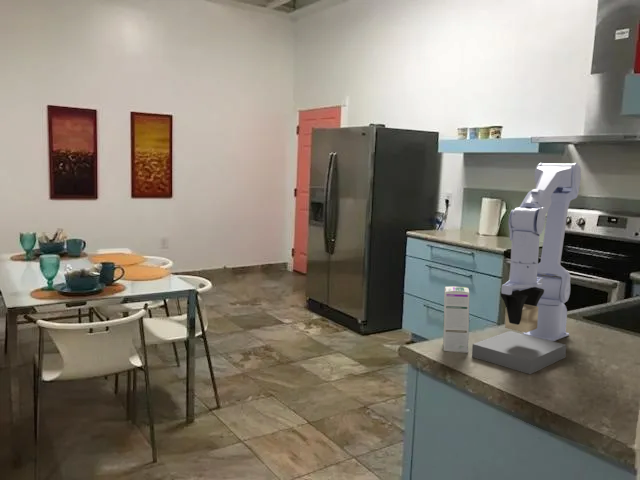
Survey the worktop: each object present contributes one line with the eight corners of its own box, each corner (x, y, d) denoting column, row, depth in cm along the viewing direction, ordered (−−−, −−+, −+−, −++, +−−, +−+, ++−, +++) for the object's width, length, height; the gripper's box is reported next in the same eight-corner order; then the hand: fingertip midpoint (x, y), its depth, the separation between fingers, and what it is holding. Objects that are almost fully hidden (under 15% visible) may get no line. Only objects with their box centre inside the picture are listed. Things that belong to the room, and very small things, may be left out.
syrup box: (468, 353, 128) (471, 291, 126) (442, 351, 129) (444, 290, 127) (467, 345, 133) (469, 286, 132) (442, 343, 135) (444, 285, 133)
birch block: (516, 323, 128) (517, 302, 127) (537, 328, 124) (538, 306, 124) (505, 327, 125) (506, 306, 124) (526, 332, 121) (527, 310, 120)
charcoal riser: (509, 342, 136) (509, 330, 136) (565, 357, 126) (566, 344, 125) (471, 356, 125) (472, 344, 125) (530, 374, 115) (530, 360, 115)
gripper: (524, 267, 115) (520, 331, 117) (557, 260, 124) (553, 319, 126) (494, 263, 120) (491, 324, 122) (527, 256, 130) (524, 313, 131)
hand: (520, 321), depth 124 cm, fingers closed on birch block, 5 cm apart
